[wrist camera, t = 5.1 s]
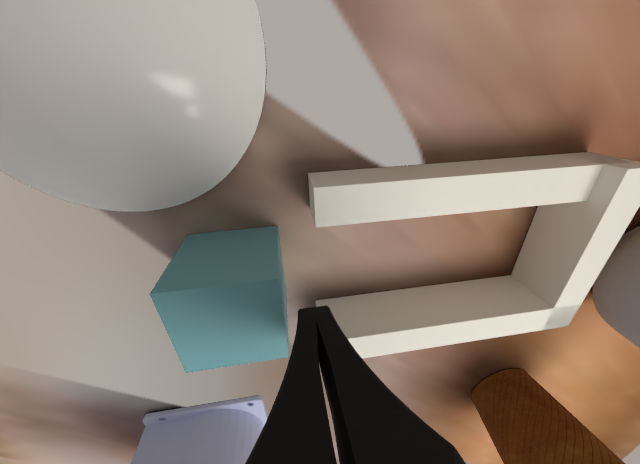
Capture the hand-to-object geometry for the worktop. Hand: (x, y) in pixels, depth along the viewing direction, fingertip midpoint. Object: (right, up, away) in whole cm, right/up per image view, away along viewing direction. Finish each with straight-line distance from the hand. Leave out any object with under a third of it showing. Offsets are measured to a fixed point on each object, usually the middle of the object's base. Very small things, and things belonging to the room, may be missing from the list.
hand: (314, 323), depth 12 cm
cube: (-5, +2, +4) cm, 7 cm away
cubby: (+8, +3, +5) cm, 10 cm away
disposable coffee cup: (+19, -12, +16) cm, 28 cm away
